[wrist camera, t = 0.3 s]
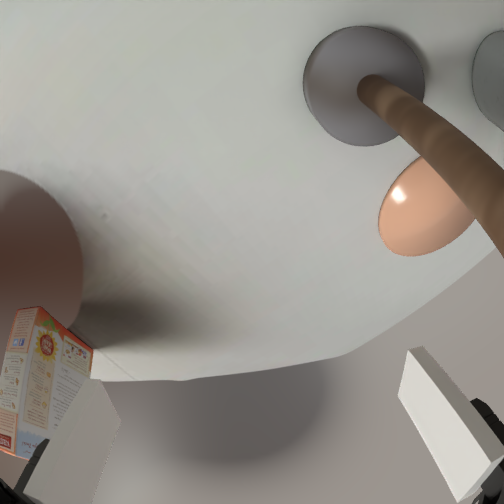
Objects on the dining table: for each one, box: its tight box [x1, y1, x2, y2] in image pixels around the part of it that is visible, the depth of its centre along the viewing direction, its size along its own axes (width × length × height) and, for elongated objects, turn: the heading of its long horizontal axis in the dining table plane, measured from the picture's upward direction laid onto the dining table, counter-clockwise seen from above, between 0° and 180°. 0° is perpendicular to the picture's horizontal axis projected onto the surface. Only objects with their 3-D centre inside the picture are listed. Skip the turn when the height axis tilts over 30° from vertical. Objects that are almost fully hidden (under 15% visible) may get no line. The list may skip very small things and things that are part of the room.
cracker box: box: [0, 306, 93, 460], centre depth 30 cm, size 14×6×21 cm, turn 9°
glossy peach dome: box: [378, 156, 475, 256], centre depth 27 cm, size 15×15×1 cm
